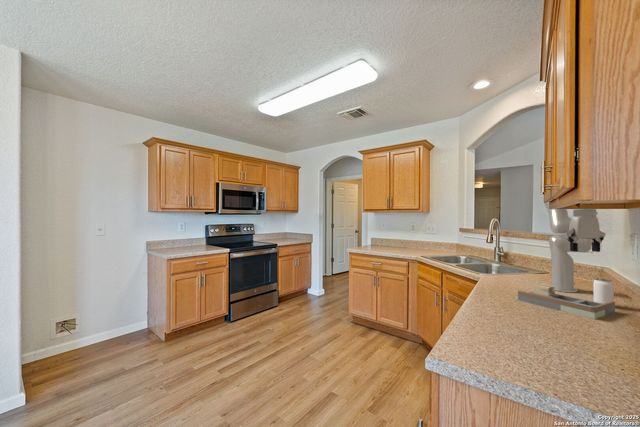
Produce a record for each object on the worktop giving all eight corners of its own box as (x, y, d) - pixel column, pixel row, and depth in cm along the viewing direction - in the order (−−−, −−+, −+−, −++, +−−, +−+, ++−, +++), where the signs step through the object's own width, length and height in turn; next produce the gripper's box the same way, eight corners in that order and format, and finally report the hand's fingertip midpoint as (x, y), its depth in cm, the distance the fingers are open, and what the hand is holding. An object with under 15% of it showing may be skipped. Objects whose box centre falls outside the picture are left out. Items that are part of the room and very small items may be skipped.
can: (604, 303, 127) (604, 278, 127) (618, 307, 121) (617, 281, 121) (589, 302, 128) (589, 278, 128) (602, 307, 121) (602, 281, 122)
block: (540, 291, 138) (540, 283, 138) (554, 294, 133) (554, 286, 133) (534, 292, 136) (534, 285, 136) (548, 295, 130) (548, 287, 130)
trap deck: (539, 295, 140) (539, 286, 141) (614, 311, 115) (614, 301, 115) (517, 299, 132) (517, 290, 132) (594, 319, 107) (594, 308, 107)
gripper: (596, 214, 124) (596, 250, 124) (558, 214, 125) (558, 250, 125) (612, 214, 117) (613, 252, 117) (572, 214, 118) (572, 252, 117)
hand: (584, 251), depth 121 cm, fingers open, 9 cm apart
